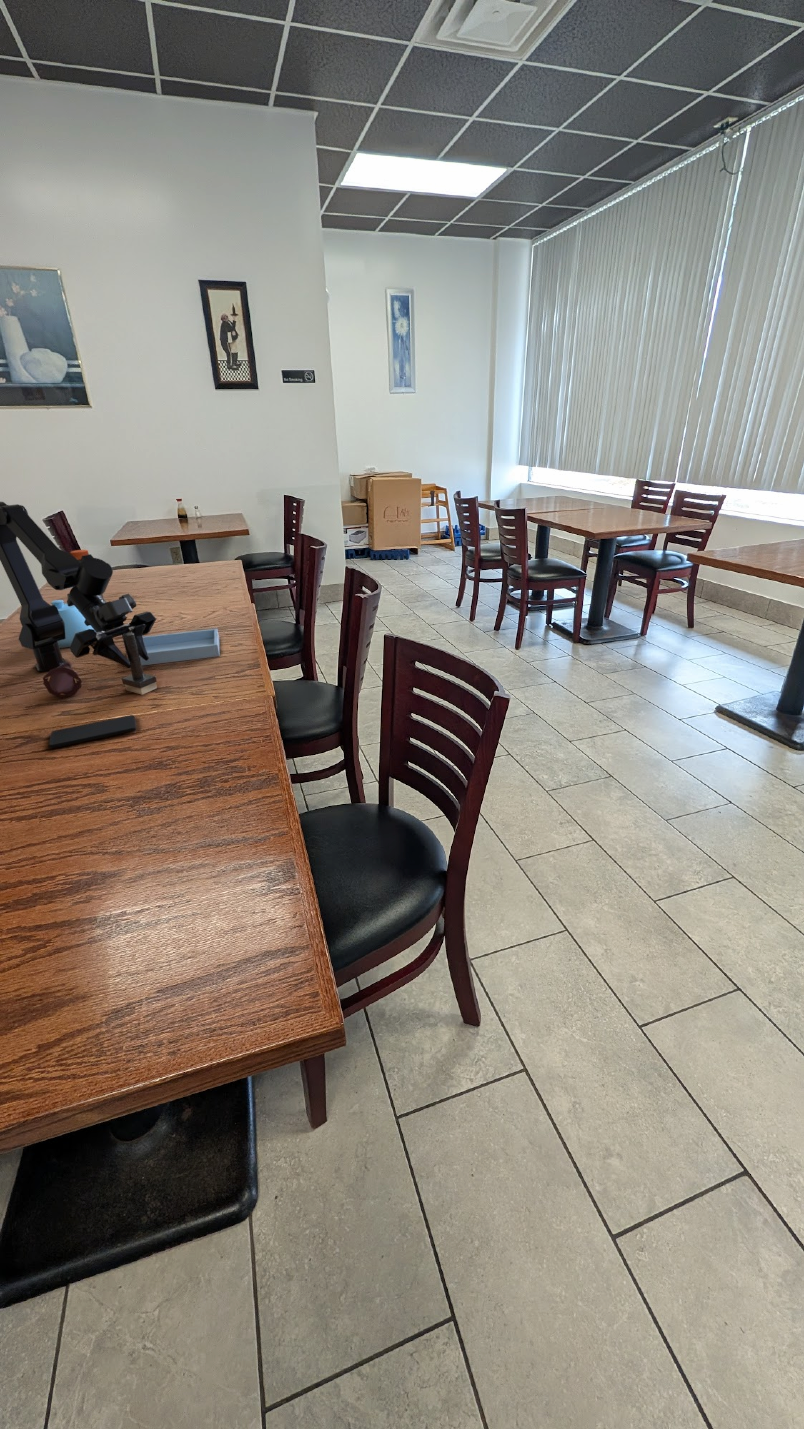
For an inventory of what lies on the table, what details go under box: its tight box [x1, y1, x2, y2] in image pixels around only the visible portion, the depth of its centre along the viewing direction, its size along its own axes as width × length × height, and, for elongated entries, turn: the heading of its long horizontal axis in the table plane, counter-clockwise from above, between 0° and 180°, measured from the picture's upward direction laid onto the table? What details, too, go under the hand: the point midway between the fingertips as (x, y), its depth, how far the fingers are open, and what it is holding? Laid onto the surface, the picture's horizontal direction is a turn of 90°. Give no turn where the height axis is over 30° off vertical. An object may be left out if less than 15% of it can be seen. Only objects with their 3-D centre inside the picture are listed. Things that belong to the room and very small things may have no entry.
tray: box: [126, 628, 220, 667], centre depth 153 cm, size 22×15×3 cm
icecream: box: [42, 661, 82, 698], centre depth 129 cm, size 7×7×15 cm
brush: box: [121, 633, 158, 696], centre depth 129 cm, size 6×4×13 cm
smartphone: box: [48, 714, 137, 749], centre depth 112 cm, size 7×1×15 cm
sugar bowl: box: [50, 599, 96, 649], centre depth 163 cm, size 15×15×12 cm
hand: (138, 663), depth 128 cm, fingers open, 4 cm apart
